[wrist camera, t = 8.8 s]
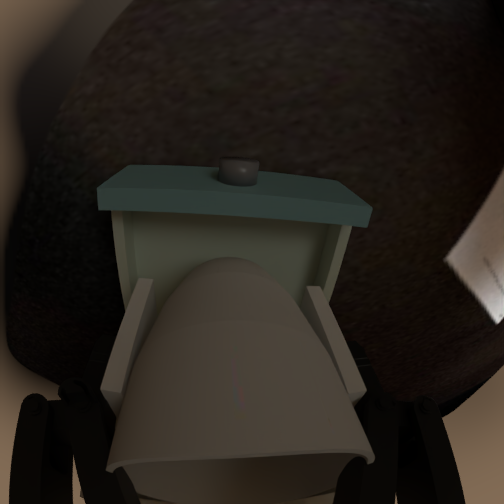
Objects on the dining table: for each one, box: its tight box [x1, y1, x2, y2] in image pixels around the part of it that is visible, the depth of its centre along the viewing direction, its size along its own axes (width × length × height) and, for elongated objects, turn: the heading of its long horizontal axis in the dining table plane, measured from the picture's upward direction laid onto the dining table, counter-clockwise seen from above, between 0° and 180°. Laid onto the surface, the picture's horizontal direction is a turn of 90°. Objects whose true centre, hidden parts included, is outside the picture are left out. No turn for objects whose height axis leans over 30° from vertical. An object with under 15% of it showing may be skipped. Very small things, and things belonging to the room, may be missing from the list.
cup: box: [106, 257, 375, 504], centre depth 10 cm, size 8×8×10 cm
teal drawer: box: [97, 157, 372, 316], centre depth 16 cm, size 15×12×5 cm
